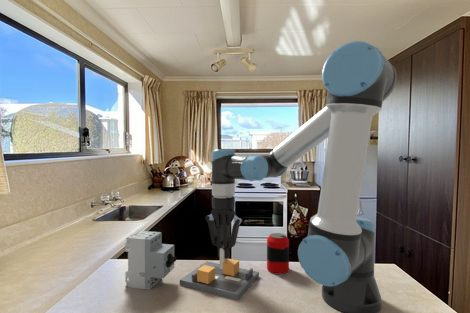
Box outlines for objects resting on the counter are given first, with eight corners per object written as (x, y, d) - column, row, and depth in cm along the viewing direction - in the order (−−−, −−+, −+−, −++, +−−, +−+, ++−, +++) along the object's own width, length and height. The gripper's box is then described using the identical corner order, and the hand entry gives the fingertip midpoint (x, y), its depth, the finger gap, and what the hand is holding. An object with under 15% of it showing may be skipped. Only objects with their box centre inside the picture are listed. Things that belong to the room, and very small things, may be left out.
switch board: (258, 276, 90) (258, 265, 90) (237, 299, 75) (237, 287, 75) (207, 265, 99) (207, 255, 99) (179, 284, 84) (179, 273, 84)
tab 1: (215, 278, 84) (215, 267, 84) (208, 284, 81) (208, 272, 81) (204, 275, 86) (204, 264, 86) (197, 281, 83) (197, 269, 83)
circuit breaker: (169, 291, 80) (169, 240, 80) (125, 286, 83) (125, 237, 83) (179, 280, 87) (179, 233, 87) (138, 275, 90) (138, 230, 90)
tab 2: (239, 271, 90) (239, 260, 90) (233, 276, 86) (233, 265, 86) (228, 269, 91) (228, 258, 91) (222, 273, 88) (222, 262, 88)
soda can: (284, 276, 90) (284, 240, 90) (263, 271, 94) (263, 236, 94) (292, 268, 96) (292, 234, 96) (272, 263, 100) (272, 231, 100)
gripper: (246, 195, 90) (246, 266, 90) (212, 193, 96) (212, 260, 96) (236, 199, 83) (236, 275, 84) (200, 196, 89) (200, 268, 89)
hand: (223, 267), depth 90 cm, fingers closed
